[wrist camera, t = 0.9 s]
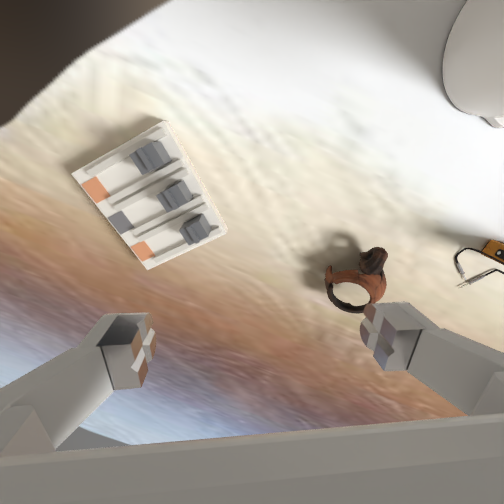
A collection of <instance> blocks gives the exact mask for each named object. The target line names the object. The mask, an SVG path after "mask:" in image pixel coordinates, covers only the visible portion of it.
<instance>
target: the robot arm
mask: <svg viewBox="0 0 504 504" xmlns="http://www.w3.org/2000/svg"><path fill="white" fill-rule="evenodd" d="M443 82H444V87H445V90H446V93H447V95H448V97H449V99H450V100H451V102H452V103H453V104H454V105H455V106H456V107H457V108H458V109H460V110H461V111H463V112H465V113H467V114H471V115H476V116H481V117H484V118H485V119H486V120H487V121H488V122H489V123H490V124H491V125H492V126H493V127H495V128H504V0H467V2H466V3H465V5H464V6H463V8H462V10H461V11H460V13H459V15H458V17H457V18H456V21H455V23H454V25H453V27H452V29H451V32H450V34H449V37H448V40H447V44H446V48H445V52H444V58H443ZM363 313H364V315H365V316H366V318H365V319H364V320H363V321H362V322H361V325H360V335H361V338H362V340H363V342H364V344H365V345H366V347H368V348H369V349H371V350H373V351H374V354H373V357H374V358H375V359H376V361H377V362H378V363H379V365H380V366H381V368H382V369H383V370H384V371H404V370H407V372H408V373H410V374H411V375H413V376H414V377H415V378H417V379H418V380H419V381H421V382H422V383H424V384H425V385H426V386H428V387H429V388H431V389H432V390H433V391H435V392H436V393H438V394H439V395H440V396H442V397H443V398H445V399H446V400H447V401H449V402H450V403H451V404H453V405H454V406H456V407H457V408H458V409H460V410H461V411H463V412H464V413H465V414H467V415H468V416H462V417H451V418H439V419H428V420H417V421H405V422H394V423H383V424H372V425H360V426H349V427H338V428H326V429H314V430H303V431H291V432H280V433H268V434H256V435H245V436H233V437H222V438H210V439H199V440H187V441H176V442H164V443H153V444H141V445H130V446H119V447H108V448H95V449H85V450H73V451H61V452H57V451H56V448H57V447H58V446H59V445H60V444H61V443H62V442H63V441H64V440H65V439H66V438H67V437H68V436H69V435H70V434H71V433H72V432H73V431H74V430H75V429H76V428H77V427H78V426H79V425H80V424H81V423H82V422H83V421H84V420H85V419H86V418H88V417H89V416H90V415H91V414H92V413H93V412H94V411H95V410H96V409H97V408H98V407H99V406H100V405H101V404H102V403H103V402H104V401H105V400H106V399H107V398H108V397H109V396H110V395H111V394H112V393H113V392H114V391H113V390H121V389H132V388H141V387H142V384H143V382H144V379H145V377H146V374H147V372H148V367H147V363H148V362H150V361H151V360H152V359H153V356H154V353H155V348H156V334H155V331H153V330H152V329H151V326H152V324H153V319H152V315H151V314H150V313H121V314H120V313H116V314H105V315H103V316H102V317H101V318H100V319H99V321H98V322H97V323H96V324H95V326H94V327H93V328H92V329H91V331H90V332H89V333H88V334H87V335H86V337H85V338H84V339H83V340H82V342H81V343H80V344H79V345H78V347H77V348H71V349H69V350H67V351H65V352H64V353H62V354H60V355H58V356H57V357H55V358H53V359H51V360H50V361H48V362H46V363H44V364H43V365H41V366H39V367H37V368H36V369H34V370H32V371H31V372H29V373H27V374H25V375H24V376H22V377H20V378H18V379H17V380H15V381H13V382H11V383H10V384H8V385H6V386H4V387H3V388H1V389H0V504H504V353H502V352H500V351H497V350H495V349H493V348H490V347H488V346H485V345H483V344H481V343H478V342H476V341H473V340H471V339H469V338H466V337H464V336H461V335H459V334H457V333H454V332H452V331H449V330H447V329H445V328H444V329H440V328H439V327H438V326H437V325H435V324H434V323H433V322H432V321H431V320H429V319H428V318H427V317H426V316H424V315H423V314H422V313H421V312H420V311H418V310H417V309H416V308H415V307H413V306H412V305H411V304H410V303H408V302H405V301H403V302H392V303H375V304H367V305H366V306H365V308H364V312H363Z"/></svg>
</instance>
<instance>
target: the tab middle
mask: <svg viewBox="0 0 504 504" xmlns="http://www.w3.org/2000/svg"><path fill="white" fill-rule="evenodd" d="M156 197H157V198H158V200H159V201H160V203H161V204H162V206H163V207H164V209H165V210H166V212H167V213H168V212H170V211H172V210H176V209H178V208H179V207H180V206H182V205H184V204H186V203H188V202H189V201H190V200H191V198H192V197H193V195H192V194H191V192H190V190H189V189H188V187H187V185H186V184H185V182H184V180H182V181H180V182H179V183H177V184H175V185H173V186H171V187H169V188H167V189H165V190H163V191H162V192H160V193H159V194H157V195H156Z"/></svg>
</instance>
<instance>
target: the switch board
mask: <svg viewBox="0 0 504 504" xmlns="http://www.w3.org/2000/svg"><path fill="white" fill-rule="evenodd" d="M151 142H161V143H162V144H163V146H164V148H165V149H166V151H167V153H168V155H169V156H170V158H171V160H172V161H171V162H169V163H167V164H165V165H163V166H162V167H160V168H158V169H156V170H154V171H152V172H150V173H147V174H144V175H142V174H141V172H140V171H139V169H138V168H137V166H136V165H135V163H134V162H133V160H132V159H131V157H130V156H129V155H130V154H131V153H133V152H135V151H136V150H137V149H138V148H141V147H144V146H146V145H147V144H149V143H151ZM72 175H73V177H74V178H75V179H76V180H77V182H78V183H79V184H80V185H81V187H82V188H83V189H84V191H85V192H86V193H87V194H88V196H89V197H90V198H91V199H92V201H93V202H94V203H95V204H96V206H97V207H98V208H99V209H100V211H101V212H102V213H103V214H104V216H105V217H106V218H107V219H108V221H109V222H110V223H111V225H112V226H113V227H114V228H115V230H116V231H117V232H118V233H119V235H120V236H121V237H122V238H123V240H124V241H125V242H126V243H127V245H128V246H129V247H130V248H131V250H132V251H133V252H134V254H135V255H136V256H137V257H138V259H139V260H140V261H141V262H142V264H143V265H144V266H145V267H146V269H147V270H149V269H151V268H153V267H155V266H157V265H160V264H162V263H164V262H166V261H168V260H170V259H173V258H175V257H177V256H179V255H181V254H183V253H186V252H188V251H190V250H192V249H194V248H196V247H199V246H201V245H203V244H205V243H207V242H209V241H212V240H214V239H216V238H218V237H220V236H222V235H225V234H227V229H228V227H227V225H226V224H225V222H224V220H223V218H222V216H221V215H220V213H219V211H218V209H217V207H216V206H215V204H214V202H213V200H212V198H211V197H210V195H209V193H208V191H207V189H206V187H205V186H204V184H203V182H202V180H201V178H200V177H199V175H198V173H197V171H196V169H195V168H194V166H193V164H192V162H191V160H190V159H189V157H188V155H187V153H186V151H185V150H184V148H183V146H182V144H181V142H180V140H179V139H178V137H177V135H176V133H175V131H174V130H173V128H172V126H171V124H170V122H168V121H162V122H160V123H158V124H156V125H155V126H153V127H151V128H149V129H148V130H146V131H144V132H143V133H141V134H139V135H137V136H136V137H134V138H132V139H130V140H129V141H127V142H125V143H123V144H122V145H120V146H118V147H117V148H115V149H113V150H111V151H110V152H108V153H106V154H104V155H103V156H101V157H99V158H98V159H96V160H94V161H92V162H91V163H89V164H87V165H85V166H84V167H82V168H80V169H78V170H77V171H75V172H73V173H72ZM182 180H184V182H185V184H186V185H187V187H188V189H189V190H190V192H191V194H192V195H193V197H192V198H191V200H190V201H189V202H188V203H186V204H184V205H182V206H180V207H179V208H178V209H176V210H172V211H170V212H168V213H167V212H166V210H165V209H164V207H163V206H162V204H161V203H160V201H159V200H158V198H157V197H156V195H157V194H159V193H160V192H162V191H163V190H165V189H167V188H169V187H171V186H173V185H175V184H177V183H179V182H180V181H182ZM201 214H204V216H205V218H206V219H207V221H208V223H209V224H210V226H211V231H210V234H209V237H207V238H204V239H202V240H201V241H200V242H199V243H197V244H196V243H194V244H192V245H188V244H187V242H186V241H185V239H184V238H183V236H182V235H181V233H180V232H179V230H180V228H181V227H182V225H183V224H184V222H186V221H188V220H190V219H192V218H194V217H196V216H198V215H201Z"/></svg>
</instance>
